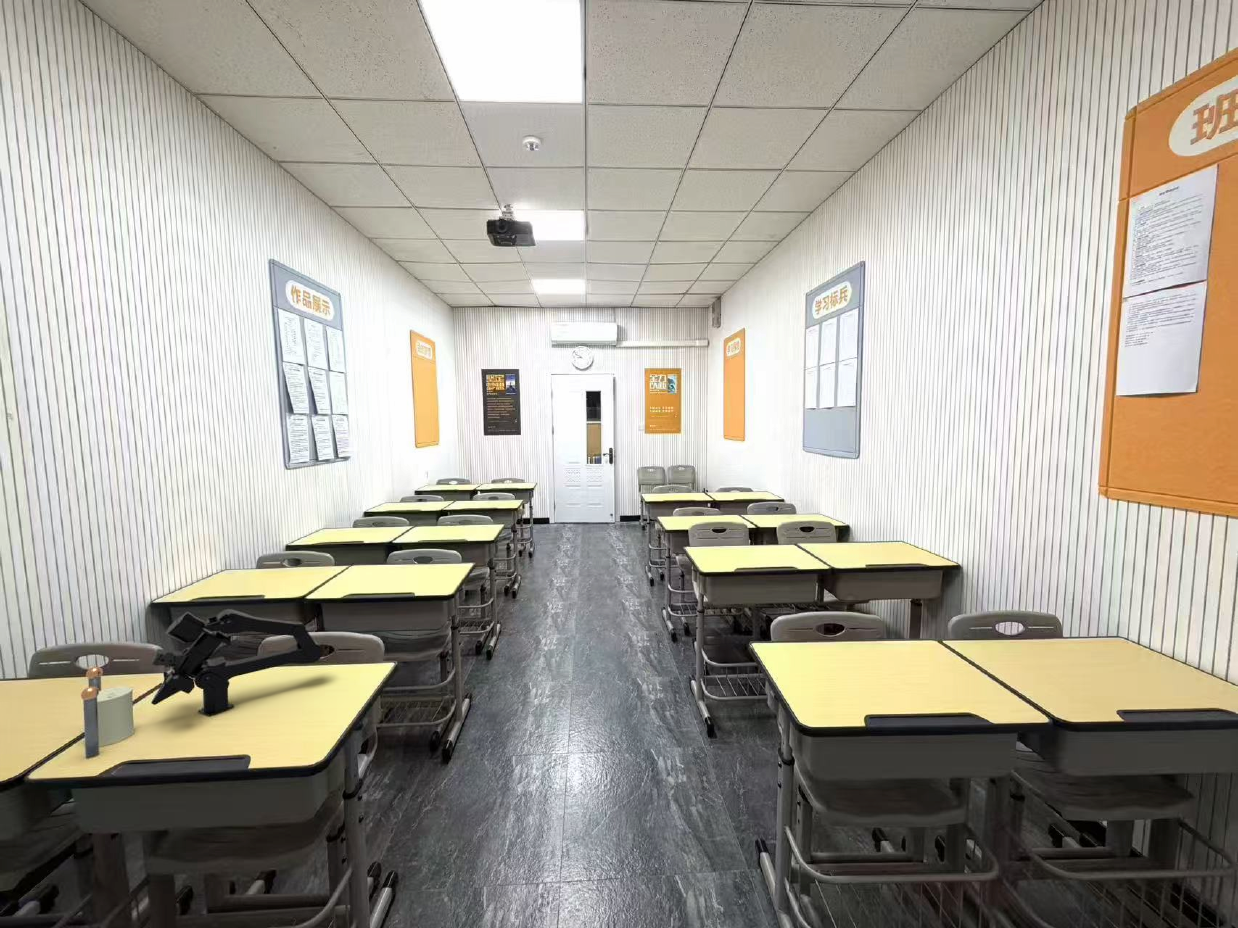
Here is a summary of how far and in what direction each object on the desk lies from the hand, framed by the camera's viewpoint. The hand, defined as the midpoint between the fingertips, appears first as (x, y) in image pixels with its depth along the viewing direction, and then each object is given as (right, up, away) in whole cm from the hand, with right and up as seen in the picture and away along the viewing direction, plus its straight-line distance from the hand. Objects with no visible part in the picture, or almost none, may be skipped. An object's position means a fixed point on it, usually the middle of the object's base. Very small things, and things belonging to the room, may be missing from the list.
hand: (152, 703), depth 146 cm
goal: (-9, -6, -7) cm, 13 cm away
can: (-6, -7, -5) cm, 11 cm away
